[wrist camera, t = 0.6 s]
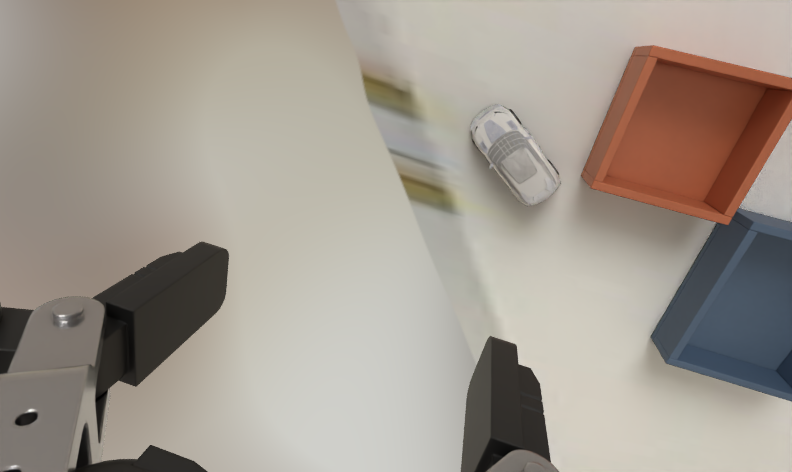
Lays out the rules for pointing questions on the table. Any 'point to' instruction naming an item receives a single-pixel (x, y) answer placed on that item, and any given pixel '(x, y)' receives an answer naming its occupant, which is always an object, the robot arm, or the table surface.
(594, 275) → the table surface
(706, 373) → the blue bin
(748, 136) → the terracotta bin
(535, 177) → the toy car
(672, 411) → the table surface
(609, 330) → the table surface
